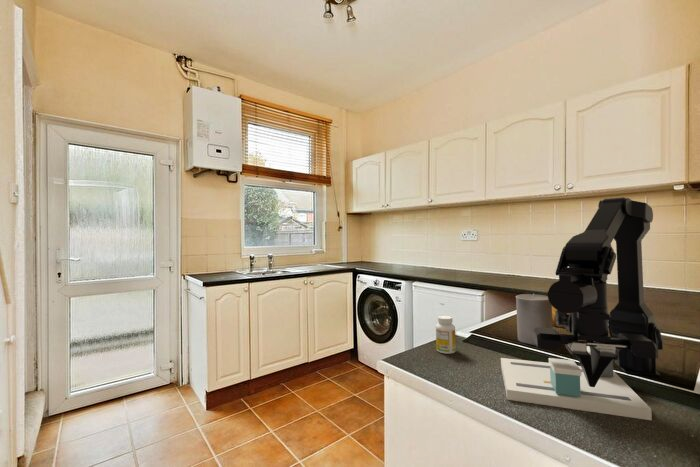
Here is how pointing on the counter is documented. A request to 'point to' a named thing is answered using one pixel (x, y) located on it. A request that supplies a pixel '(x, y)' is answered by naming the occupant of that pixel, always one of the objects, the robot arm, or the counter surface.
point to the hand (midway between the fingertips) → (591, 386)
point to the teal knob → (565, 376)
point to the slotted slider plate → (535, 387)
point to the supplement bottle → (445, 335)
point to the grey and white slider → (609, 368)
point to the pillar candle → (532, 315)
